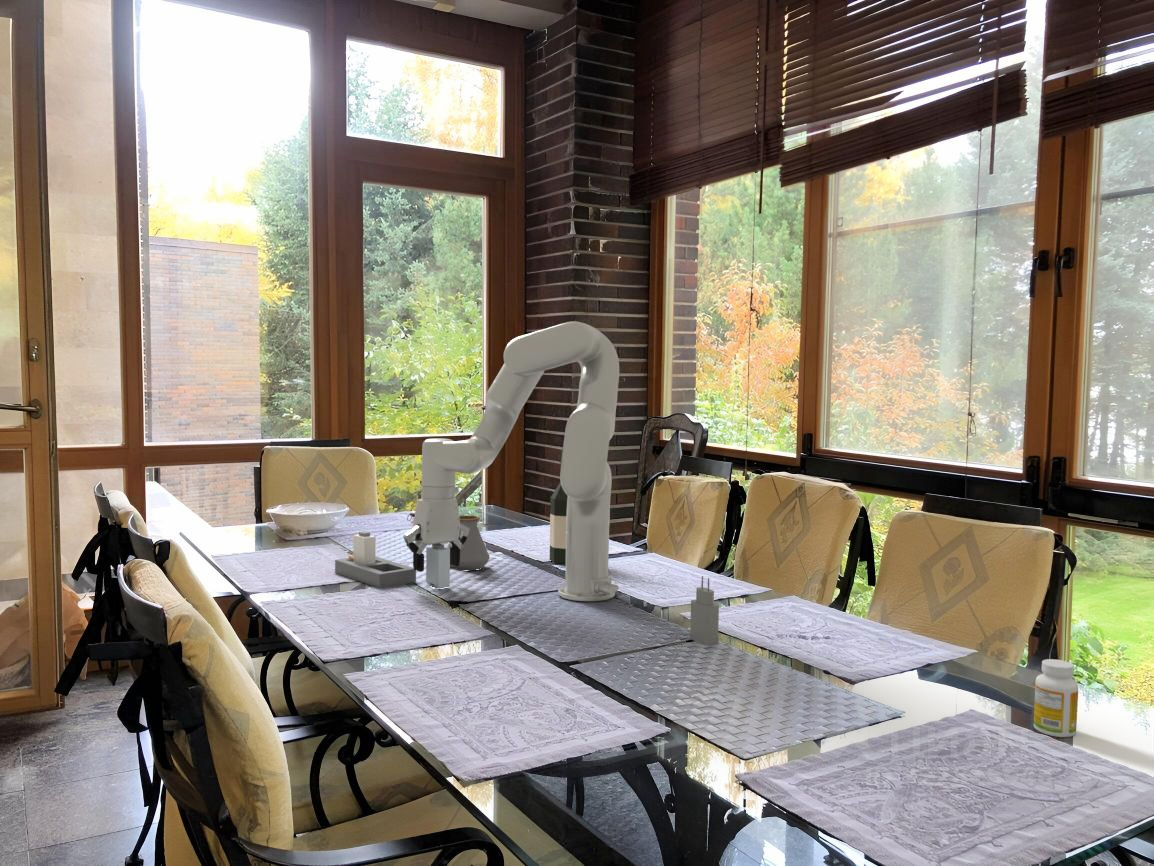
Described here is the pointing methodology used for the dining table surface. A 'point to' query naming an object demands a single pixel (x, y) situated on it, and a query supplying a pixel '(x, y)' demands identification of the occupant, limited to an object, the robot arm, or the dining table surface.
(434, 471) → the robot arm
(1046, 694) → the supplement bottle
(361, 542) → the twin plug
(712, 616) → the power adapter
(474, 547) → the coffee pot
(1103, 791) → the dining table surface
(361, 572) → the grey socket block
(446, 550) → the plug
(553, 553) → the wine bottle
